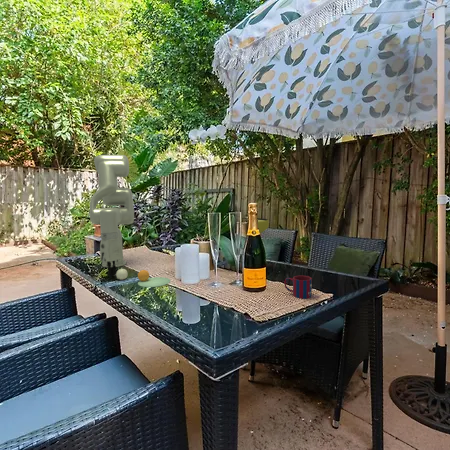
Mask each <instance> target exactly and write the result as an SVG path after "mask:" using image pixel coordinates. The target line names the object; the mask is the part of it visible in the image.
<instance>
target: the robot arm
mask: <svg viewBox="0 0 450 450" xmlns="http://www.w3.org/2000/svg"><path fill="white" fill-rule="evenodd" d="M93 163H94V167H95V170H96V172H97V174H98V189H97V190H96V191H95V193H93V195H92V197H91V199H90V201H89V219H90V222H91V223H92V224H94V225H100V227H99V228H100V238H101V239H100V243H99V257H100V258H99V260H100V261H101V266H102V267H103V268H107V272H108V274H107V275H108V276H116V273H117V268H118V267H123V266H125V265H127V261H126V260H124V251H123V235H122V234H123V233H122V231H121V229H119V226H120V225H122V226H123V225H131V224H133V223H134V221H135V210H134V209H135V208H134V196H133V192H132V190H131V189H130V188H128V187H119V183H118V182H119V181H118V178H126V177H128V176H129V174H130V164H129V163H130V162H129V158H128V156H127V155H125V154H99V155H96V156H95V157H94V162H93ZM101 200H102V203H103V204H104V205H106V206H111V207H103V208H102V207H100V208H99V207H98V208H97V204H98V203H99V202H100V201H101ZM113 206H116V207H113ZM117 206H118V207H117ZM121 206H122V207H121Z"/></svg>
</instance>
